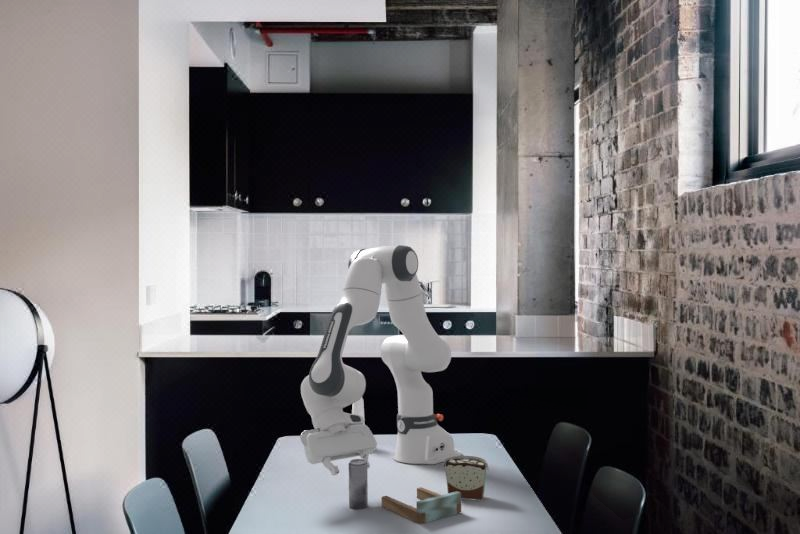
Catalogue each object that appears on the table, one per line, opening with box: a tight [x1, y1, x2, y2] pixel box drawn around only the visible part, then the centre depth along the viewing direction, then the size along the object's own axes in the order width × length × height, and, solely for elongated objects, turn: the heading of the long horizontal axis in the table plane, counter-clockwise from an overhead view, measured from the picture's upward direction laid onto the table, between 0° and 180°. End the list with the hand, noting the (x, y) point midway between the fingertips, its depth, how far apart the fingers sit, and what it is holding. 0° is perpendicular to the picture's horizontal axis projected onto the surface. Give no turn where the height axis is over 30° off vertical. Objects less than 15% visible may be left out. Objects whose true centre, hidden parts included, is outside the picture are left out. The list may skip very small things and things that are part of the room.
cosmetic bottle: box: [351, 396, 366, 425], centre depth 252 cm, size 6×6×22 cm
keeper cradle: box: [381, 486, 462, 525], centre depth 188 cm, size 13×16×5 cm
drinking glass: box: [348, 458, 369, 510], centre depth 191 cm, size 5×5×12 cm
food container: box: [442, 455, 489, 501], centre depth 199 cm, size 12×6×10 cm, turn 71°
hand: (351, 471), depth 193 cm, fingers open, 8 cm apart
